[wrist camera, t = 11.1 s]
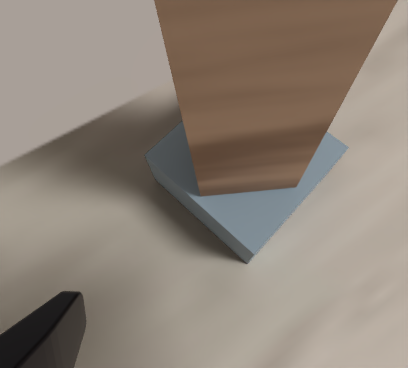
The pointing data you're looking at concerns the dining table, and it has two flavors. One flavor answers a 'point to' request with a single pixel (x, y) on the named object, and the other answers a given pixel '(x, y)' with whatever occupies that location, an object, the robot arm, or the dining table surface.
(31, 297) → the dining table surface
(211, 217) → the slate base block
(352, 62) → the walnut block
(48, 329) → the robot arm
